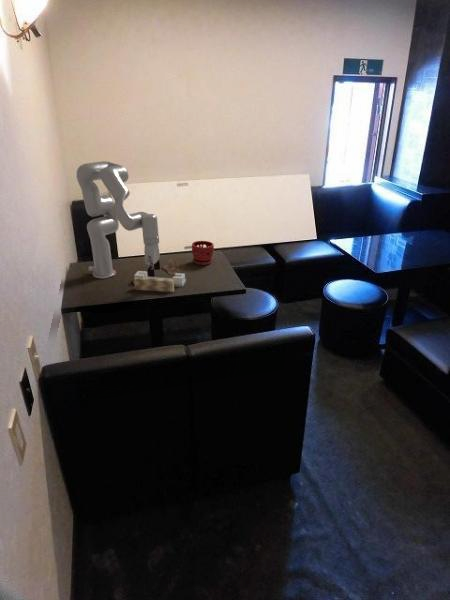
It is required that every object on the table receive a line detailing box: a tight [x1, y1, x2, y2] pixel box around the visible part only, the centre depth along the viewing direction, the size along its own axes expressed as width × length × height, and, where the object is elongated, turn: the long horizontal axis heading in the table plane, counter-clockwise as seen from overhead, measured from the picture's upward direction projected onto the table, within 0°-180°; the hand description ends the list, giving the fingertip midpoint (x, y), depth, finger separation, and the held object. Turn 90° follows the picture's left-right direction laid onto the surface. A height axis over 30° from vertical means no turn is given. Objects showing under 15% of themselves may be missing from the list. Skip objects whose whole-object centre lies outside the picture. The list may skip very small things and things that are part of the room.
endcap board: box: [133, 270, 187, 287], centre depth 218 cm, size 27×8×4 cm, turn 82°
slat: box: [133, 277, 175, 293], centre depth 209 cm, size 20×2×6 cm, turn 82°
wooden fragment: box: [161, 259, 182, 276], centre depth 240 cm, size 26×11×1 cm, turn 4°
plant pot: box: [191, 240, 215, 266], centre depth 245 cm, size 13×13×12 cm
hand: (154, 272), depth 205 cm, fingers open, 9 cm apart
